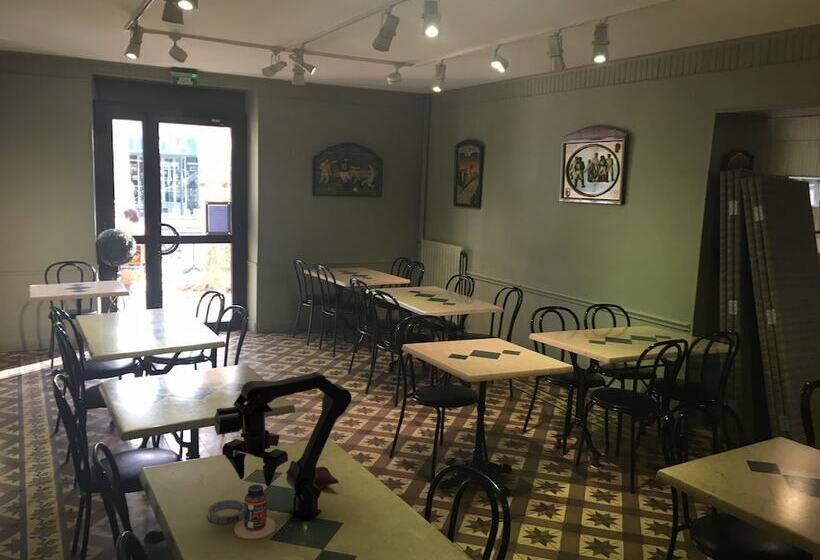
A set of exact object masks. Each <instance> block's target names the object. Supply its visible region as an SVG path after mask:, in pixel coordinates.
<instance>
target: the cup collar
mask: <svg viewBox="0 0 820 560" xmlns="http://www.w3.org/2000/svg"><path fill="white" fill-rule="evenodd" d="M207 509H208V510H207V518H208V520H209V521H210V522H211V523H213V524H217V525H230V524H234V523H238V522H239V521H241V520H243V519H244V501H240V500H238V499H237V500H236V499H225V500H221V501H217V502H215V503H213V504H212V505H210V506H209V507H208V508H207ZM224 509H236V510H239V511H238V512H236V513H234V514H230V515H219V514H216V512H218V511H220V510H224ZM214 512H215V513H214Z"/></svg>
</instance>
